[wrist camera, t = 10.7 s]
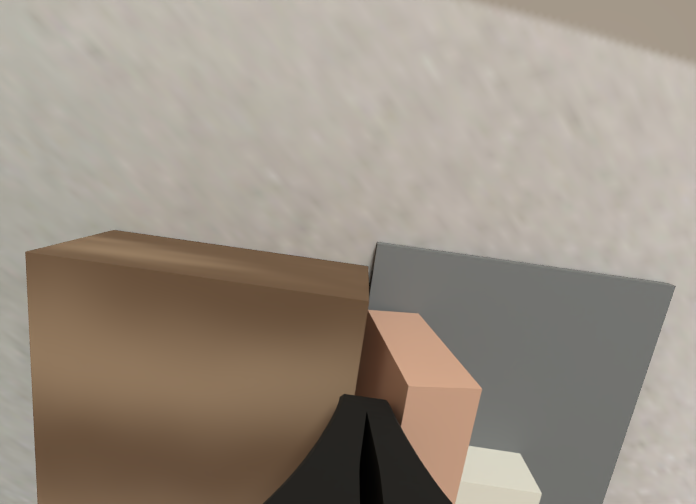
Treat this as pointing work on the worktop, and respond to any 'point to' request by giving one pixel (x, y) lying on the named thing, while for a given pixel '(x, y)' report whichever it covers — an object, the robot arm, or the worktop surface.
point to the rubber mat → (536, 354)
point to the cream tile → (496, 479)
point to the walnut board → (184, 367)
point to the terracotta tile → (421, 391)
